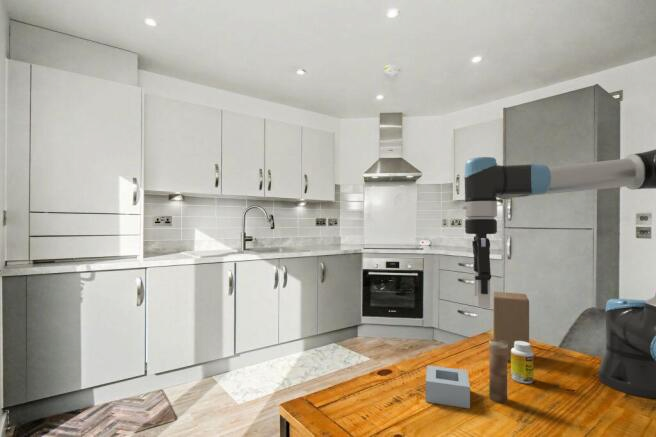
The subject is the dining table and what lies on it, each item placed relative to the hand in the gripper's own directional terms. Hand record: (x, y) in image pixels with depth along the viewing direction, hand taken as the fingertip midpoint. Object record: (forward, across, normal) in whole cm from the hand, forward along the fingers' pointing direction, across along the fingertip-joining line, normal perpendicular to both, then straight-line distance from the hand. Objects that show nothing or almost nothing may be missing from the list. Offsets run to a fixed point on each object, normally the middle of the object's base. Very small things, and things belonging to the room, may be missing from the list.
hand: (481, 301), depth 91 cm
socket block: (+23, +4, -9) cm, 25 cm away
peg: (+23, +2, +3) cm, 24 cm away
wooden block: (+24, -30, +11) cm, 40 cm away
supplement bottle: (+24, -12, +11) cm, 29 cm away
